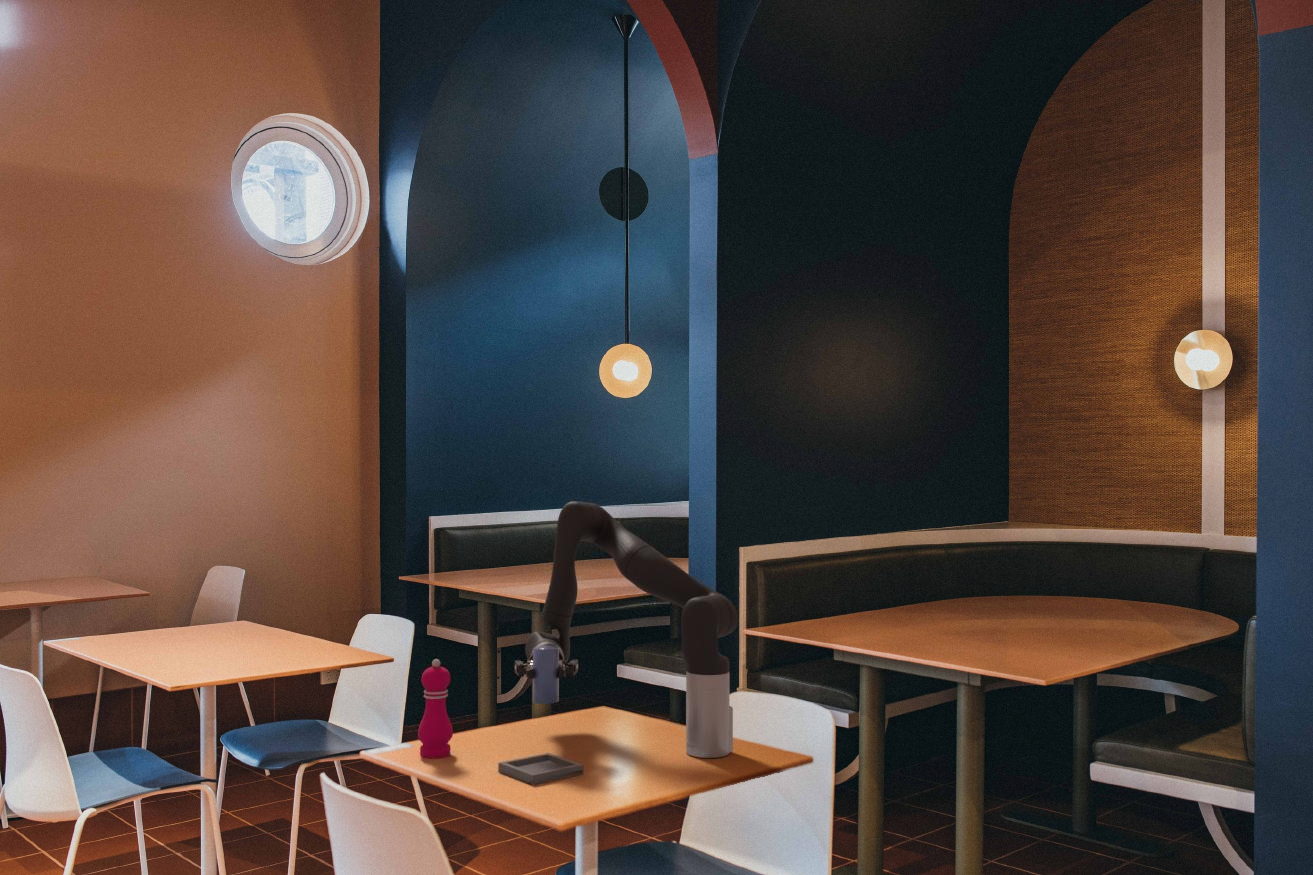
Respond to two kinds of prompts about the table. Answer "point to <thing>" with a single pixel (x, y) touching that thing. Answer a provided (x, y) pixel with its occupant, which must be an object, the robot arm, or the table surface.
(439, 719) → the pepper mill
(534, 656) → the blue-grey cylinder
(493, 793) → the table surface
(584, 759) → the table surface
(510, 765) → the tray
